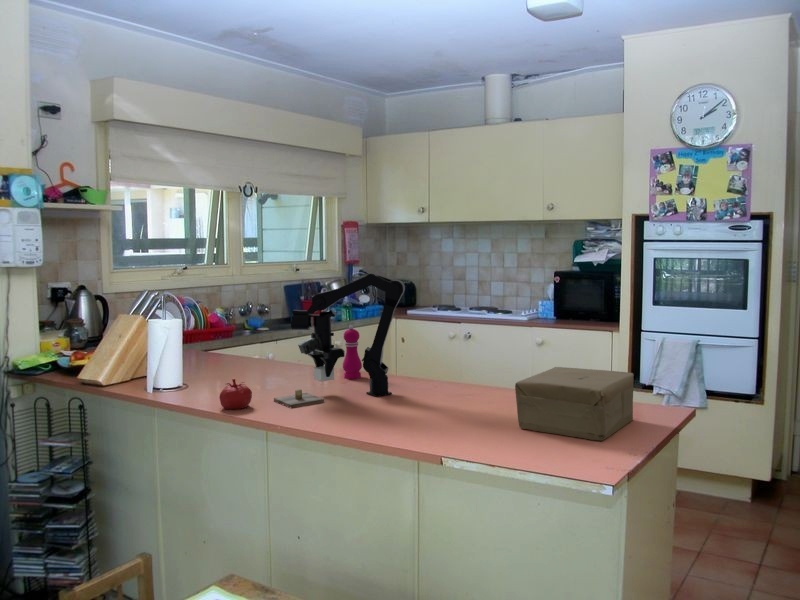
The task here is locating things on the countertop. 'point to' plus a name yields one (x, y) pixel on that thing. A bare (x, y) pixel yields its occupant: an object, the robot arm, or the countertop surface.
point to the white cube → (322, 374)
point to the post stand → (299, 399)
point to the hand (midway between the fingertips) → (324, 375)
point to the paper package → (576, 402)
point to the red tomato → (235, 396)
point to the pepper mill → (351, 354)
